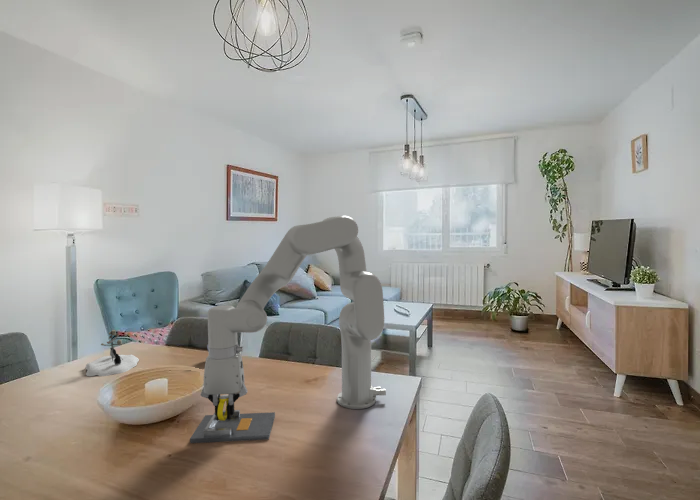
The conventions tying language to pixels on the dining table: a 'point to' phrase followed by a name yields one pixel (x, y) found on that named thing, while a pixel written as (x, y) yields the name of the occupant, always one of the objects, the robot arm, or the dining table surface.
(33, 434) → the dining table surface
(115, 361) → the figurine
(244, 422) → the gray fixture board
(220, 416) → the watch
